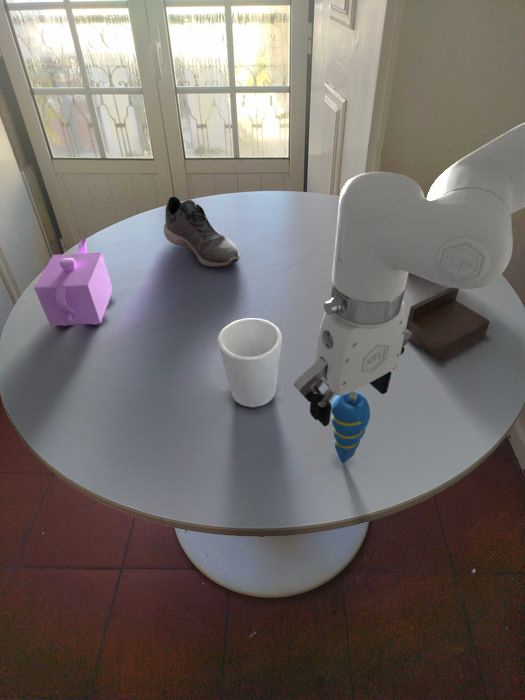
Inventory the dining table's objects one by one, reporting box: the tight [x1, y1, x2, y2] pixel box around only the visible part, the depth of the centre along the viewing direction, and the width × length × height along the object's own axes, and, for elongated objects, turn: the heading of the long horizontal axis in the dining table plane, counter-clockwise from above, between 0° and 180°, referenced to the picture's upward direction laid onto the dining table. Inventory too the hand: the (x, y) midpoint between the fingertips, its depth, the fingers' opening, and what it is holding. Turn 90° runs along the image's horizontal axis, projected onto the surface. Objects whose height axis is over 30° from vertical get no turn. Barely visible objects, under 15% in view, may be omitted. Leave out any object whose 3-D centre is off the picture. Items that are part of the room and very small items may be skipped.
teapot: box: [34, 238, 114, 327], centre depth 96 cm, size 20×10×12 cm, turn 2°
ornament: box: [331, 390, 371, 464], centre depth 65 cm, size 5×5×15 cm
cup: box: [217, 317, 283, 410], centre depth 76 cm, size 10×10×13 cm
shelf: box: [405, 287, 491, 363], centre depth 87 cm, size 9×12×7 cm
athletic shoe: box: [163, 196, 241, 268], centre depth 113 cm, size 10×26×12 cm, turn 39°
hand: (348, 402), depth 61 cm, fingers open, 9 cm apart
